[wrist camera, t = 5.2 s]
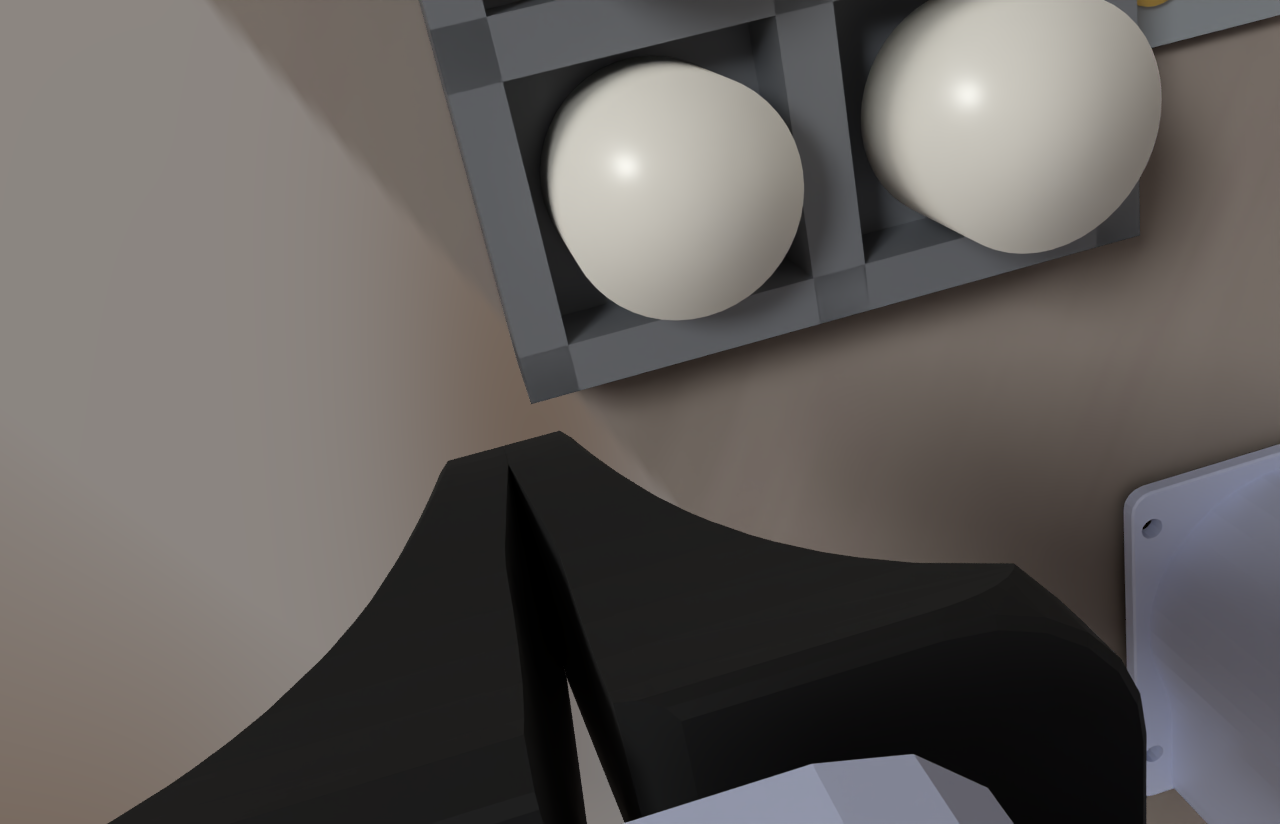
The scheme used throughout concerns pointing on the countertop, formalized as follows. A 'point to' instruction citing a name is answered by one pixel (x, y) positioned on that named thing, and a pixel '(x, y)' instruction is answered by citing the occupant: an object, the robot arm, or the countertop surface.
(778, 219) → the cream round ball
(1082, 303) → the countertop surface
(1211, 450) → the countertop surface
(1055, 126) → the cream rounded dome
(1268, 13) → the tile
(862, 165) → the tray
